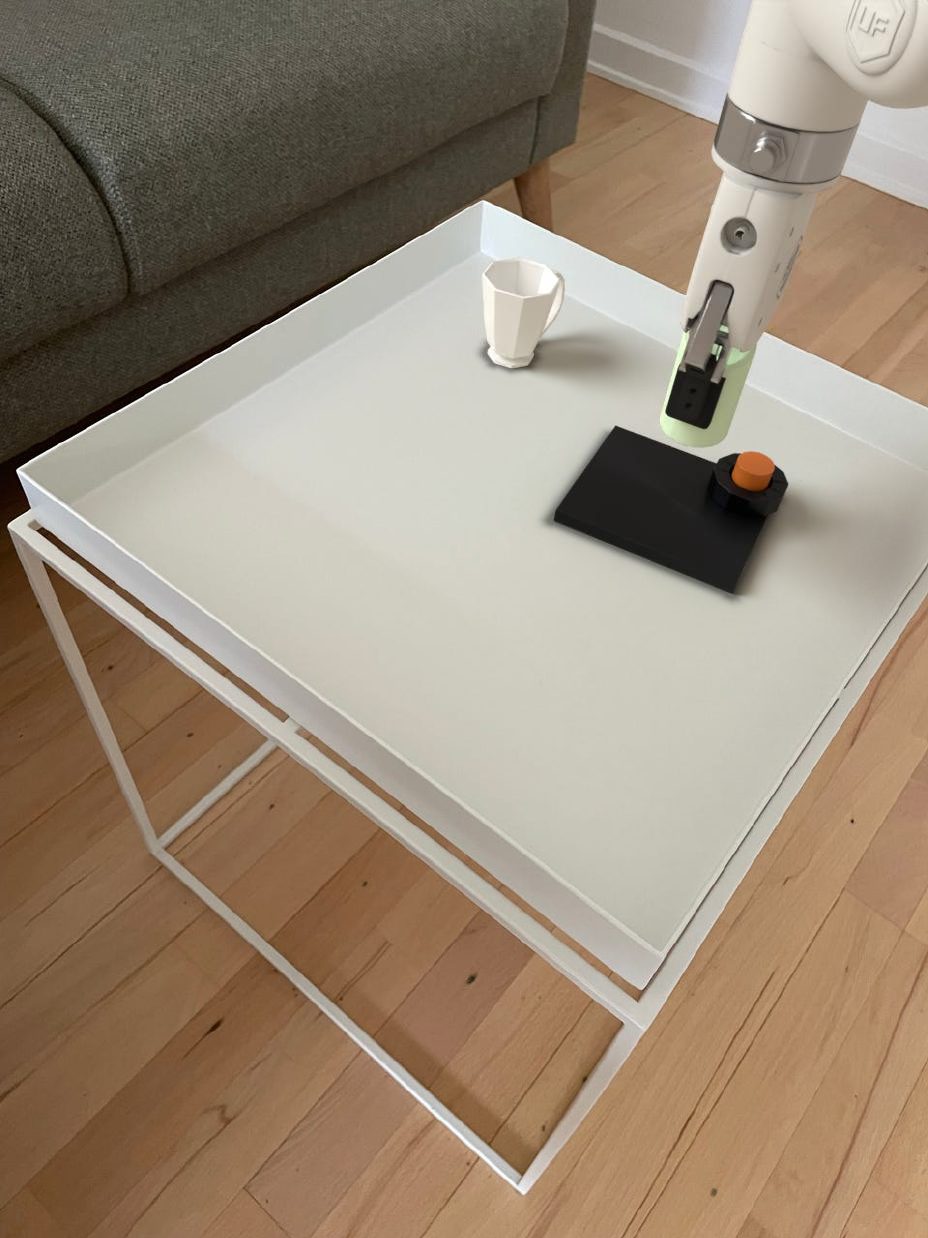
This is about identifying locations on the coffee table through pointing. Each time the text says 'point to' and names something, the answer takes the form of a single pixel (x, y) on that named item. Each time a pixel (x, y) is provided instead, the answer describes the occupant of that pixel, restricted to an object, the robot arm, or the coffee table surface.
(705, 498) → the scale
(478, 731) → the coffee table surface
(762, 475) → the button
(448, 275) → the coffee table surface
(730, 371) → the candle
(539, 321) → the cup
